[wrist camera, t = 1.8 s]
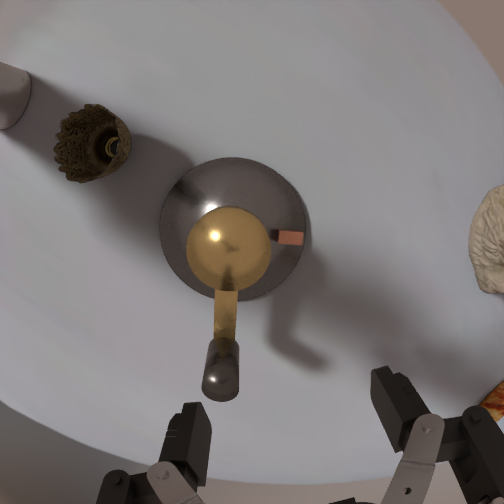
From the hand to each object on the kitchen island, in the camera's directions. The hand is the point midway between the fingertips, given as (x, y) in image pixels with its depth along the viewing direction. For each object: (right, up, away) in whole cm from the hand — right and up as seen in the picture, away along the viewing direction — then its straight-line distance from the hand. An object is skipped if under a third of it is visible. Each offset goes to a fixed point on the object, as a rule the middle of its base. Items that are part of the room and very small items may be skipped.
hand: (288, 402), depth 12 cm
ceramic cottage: (+38, +9, +22) cm, 45 cm away
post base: (-4, +9, +21) cm, 23 cm away
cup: (-17, +19, +18) cm, 31 cm away
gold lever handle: (-4, +4, +15) cm, 16 cm away
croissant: (+54, -30, +33) cm, 70 cm away
